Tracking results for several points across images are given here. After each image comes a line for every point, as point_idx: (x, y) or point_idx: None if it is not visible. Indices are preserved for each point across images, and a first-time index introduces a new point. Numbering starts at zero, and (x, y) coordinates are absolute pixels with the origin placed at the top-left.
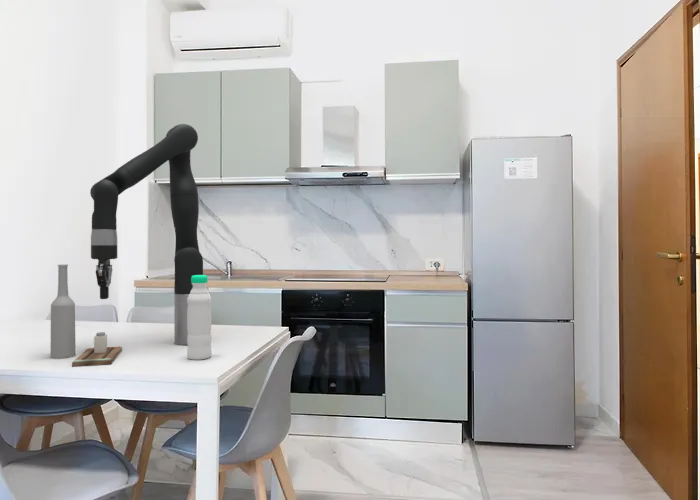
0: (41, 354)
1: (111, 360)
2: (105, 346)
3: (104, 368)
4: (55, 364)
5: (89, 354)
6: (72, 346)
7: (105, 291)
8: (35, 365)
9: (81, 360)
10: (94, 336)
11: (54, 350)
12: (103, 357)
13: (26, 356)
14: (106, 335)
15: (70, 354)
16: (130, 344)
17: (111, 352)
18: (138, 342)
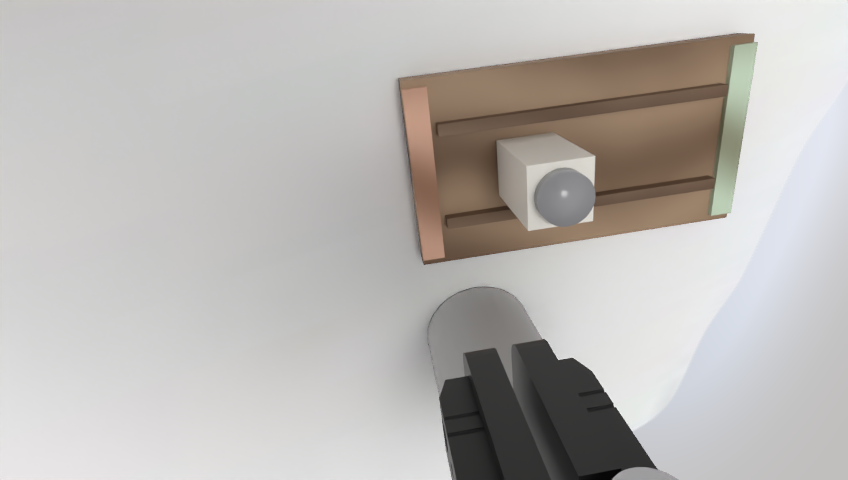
0: (424, 425)
1: (744, 34)
2: (557, 140)
3: (810, 42)
4: (639, 294)
5: (606, 193)
6: (512, 316)
7: (624, 423)
8: (631, 357)
9: (727, 183)
10: (586, 221)
11: None
12: (727, 86)
13: None
14: (547, 161)
15: (512, 299)
16: (185, 82)
17: (550, 98)
18: (106, 42)
